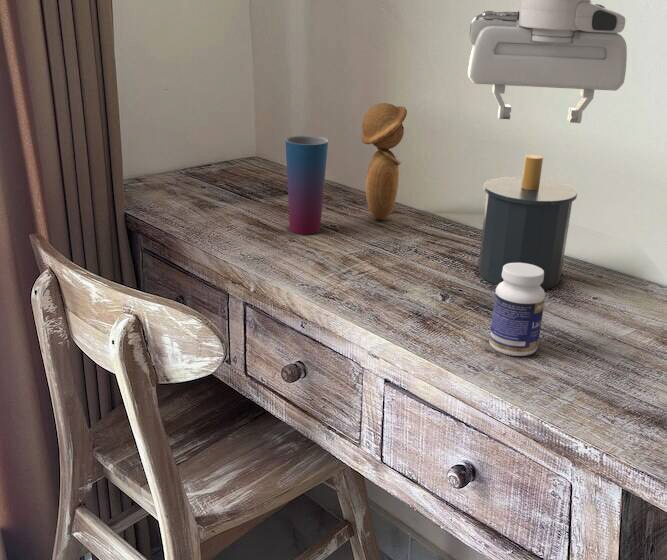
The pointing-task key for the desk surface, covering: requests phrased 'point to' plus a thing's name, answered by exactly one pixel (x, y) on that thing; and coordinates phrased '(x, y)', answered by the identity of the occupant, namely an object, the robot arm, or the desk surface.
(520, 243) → the can
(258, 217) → the desk surface
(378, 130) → the figurine
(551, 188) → the can lid
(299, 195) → the cup
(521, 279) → the pill bottle
